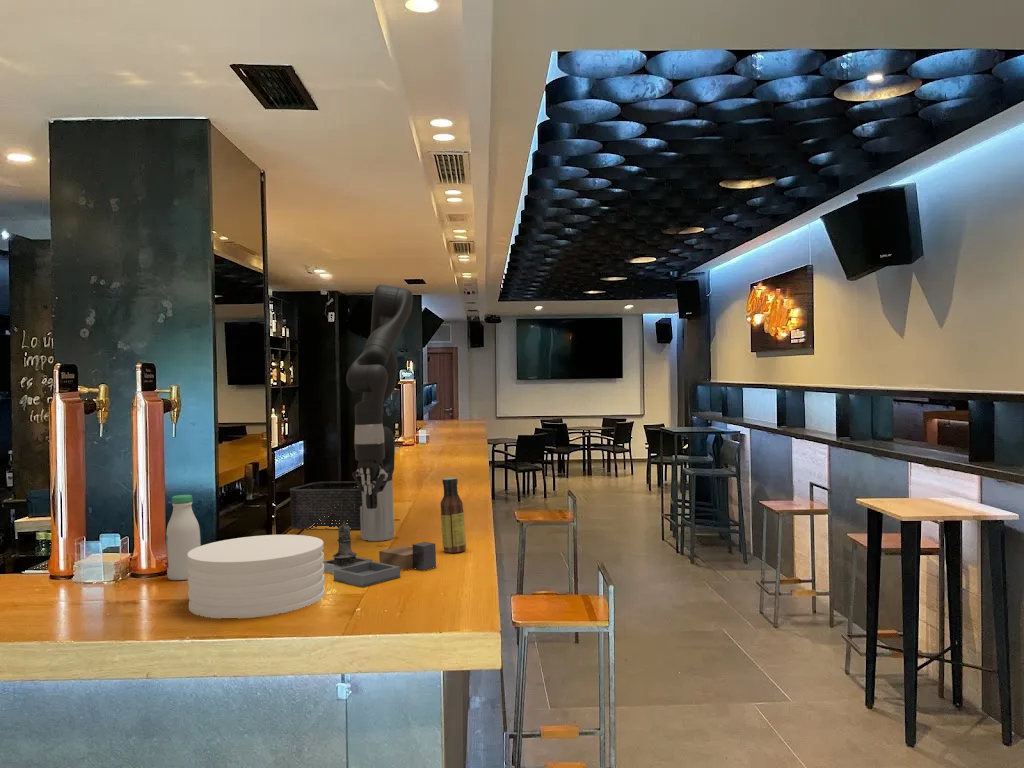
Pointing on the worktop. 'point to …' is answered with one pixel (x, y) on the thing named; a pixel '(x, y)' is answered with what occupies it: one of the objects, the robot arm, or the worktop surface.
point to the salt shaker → (344, 547)
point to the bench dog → (424, 555)
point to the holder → (331, 565)
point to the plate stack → (255, 576)
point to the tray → (366, 573)
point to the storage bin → (325, 505)
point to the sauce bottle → (452, 518)
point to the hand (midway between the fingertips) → (372, 508)
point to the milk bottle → (181, 537)
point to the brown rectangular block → (398, 557)
